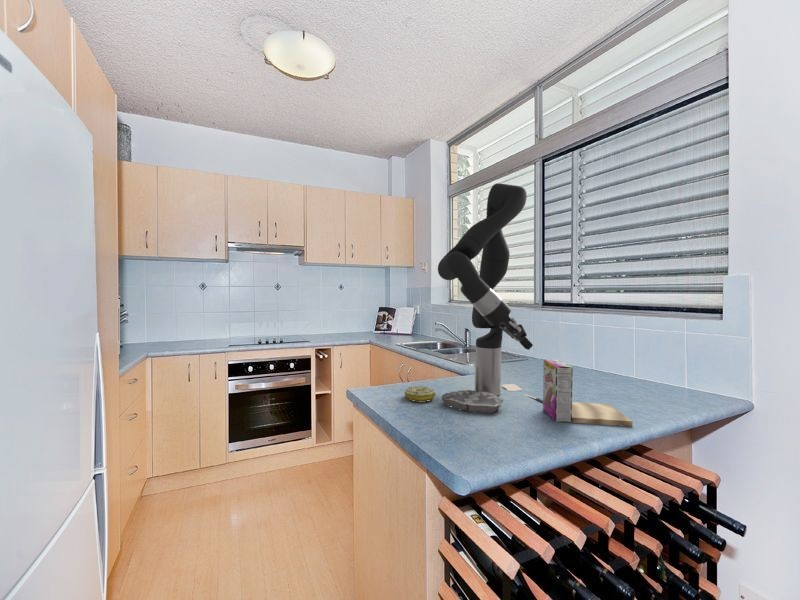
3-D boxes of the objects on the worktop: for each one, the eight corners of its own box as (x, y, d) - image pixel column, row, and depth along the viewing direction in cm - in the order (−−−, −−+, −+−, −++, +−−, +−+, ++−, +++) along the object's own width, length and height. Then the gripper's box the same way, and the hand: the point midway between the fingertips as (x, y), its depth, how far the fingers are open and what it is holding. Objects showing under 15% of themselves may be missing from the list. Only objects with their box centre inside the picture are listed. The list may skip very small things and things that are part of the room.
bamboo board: (572, 422, 107) (572, 417, 107) (557, 405, 123) (557, 401, 123) (632, 426, 105) (632, 421, 105) (609, 408, 120) (609, 404, 120)
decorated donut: (424, 393, 136) (424, 383, 136) (440, 401, 127) (441, 390, 127) (399, 396, 131) (399, 386, 131) (414, 405, 122) (414, 393, 122)
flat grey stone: (507, 403, 126) (507, 394, 126) (498, 418, 110) (498, 408, 110) (451, 395, 134) (451, 387, 134) (436, 409, 119) (436, 399, 119)
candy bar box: (541, 410, 118) (542, 359, 118) (557, 410, 118) (558, 359, 118) (554, 422, 107) (556, 366, 107) (572, 423, 107) (573, 366, 106)
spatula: (514, 387, 148) (514, 383, 148) (567, 410, 120) (567, 406, 120) (500, 388, 146) (500, 384, 146) (551, 412, 118) (551, 407, 118)
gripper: (508, 297, 103) (549, 341, 105) (491, 297, 116) (528, 336, 118) (490, 316, 103) (531, 360, 104) (475, 313, 116) (512, 352, 117)
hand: (529, 347), depth 111 cm, fingers closed
